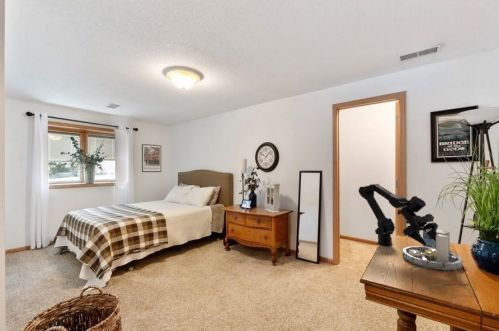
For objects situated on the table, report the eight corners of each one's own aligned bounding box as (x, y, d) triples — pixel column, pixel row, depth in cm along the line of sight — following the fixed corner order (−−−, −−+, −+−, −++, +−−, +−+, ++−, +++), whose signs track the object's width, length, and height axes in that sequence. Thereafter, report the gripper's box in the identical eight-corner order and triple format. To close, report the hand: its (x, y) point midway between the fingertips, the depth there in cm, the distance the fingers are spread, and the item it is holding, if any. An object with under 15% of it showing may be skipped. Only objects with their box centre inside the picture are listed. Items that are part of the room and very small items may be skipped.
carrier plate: (393, 258, 123) (393, 250, 123) (415, 248, 136) (415, 241, 136) (450, 276, 103) (450, 266, 103) (470, 262, 115) (470, 254, 115)
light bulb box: (422, 247, 138) (422, 228, 138) (429, 245, 141) (428, 227, 141) (443, 253, 128) (443, 233, 128) (450, 251, 131) (450, 231, 131)
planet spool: (436, 264, 112) (435, 236, 112) (434, 259, 117) (433, 233, 117) (451, 266, 109) (451, 238, 109) (448, 261, 114) (447, 234, 114)
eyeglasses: (473, 293, 90) (473, 280, 90) (429, 290, 93) (429, 277, 93) (447, 274, 106) (447, 263, 106) (410, 272, 109) (410, 261, 109)
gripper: (407, 210, 119) (430, 238, 109) (434, 207, 125) (458, 233, 114) (394, 222, 127) (414, 249, 116) (419, 218, 132) (441, 244, 122)
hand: (432, 244), depth 117 cm, fingers open, 9 cm apart
